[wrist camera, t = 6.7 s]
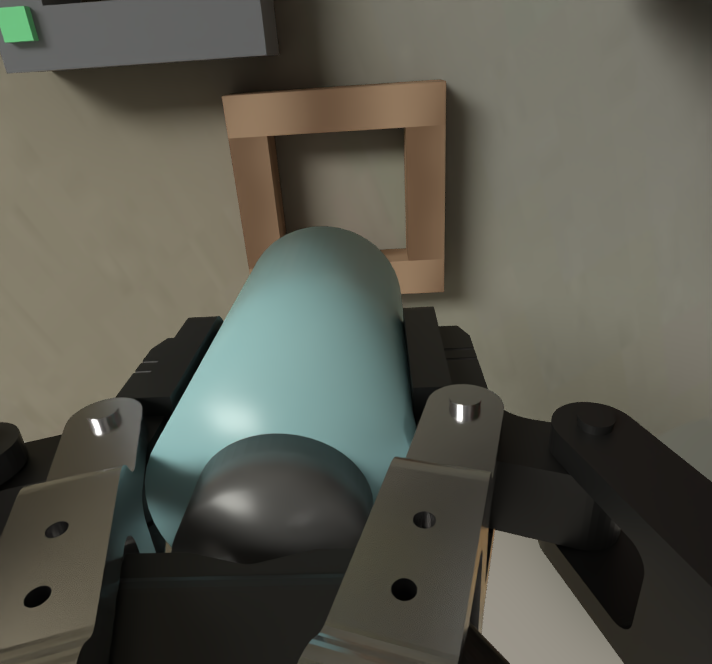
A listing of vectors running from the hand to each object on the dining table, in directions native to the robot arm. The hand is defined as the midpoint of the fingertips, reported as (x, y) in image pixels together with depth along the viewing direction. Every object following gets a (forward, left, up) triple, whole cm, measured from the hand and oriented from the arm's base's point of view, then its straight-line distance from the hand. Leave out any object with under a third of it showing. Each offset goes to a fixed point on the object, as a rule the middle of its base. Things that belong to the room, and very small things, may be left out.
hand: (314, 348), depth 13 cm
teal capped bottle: (0, 0, -3) cm, 3 cm away
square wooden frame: (0, 0, -17) cm, 17 cm away
